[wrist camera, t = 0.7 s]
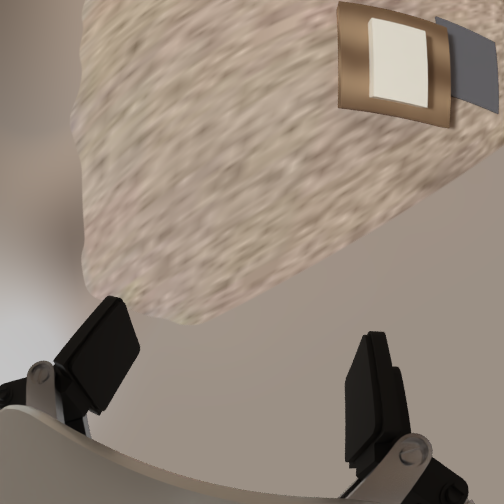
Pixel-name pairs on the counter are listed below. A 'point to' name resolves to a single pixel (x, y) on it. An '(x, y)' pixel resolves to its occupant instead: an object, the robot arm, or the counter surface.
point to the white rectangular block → (398, 63)
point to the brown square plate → (358, 73)
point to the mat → (472, 66)
